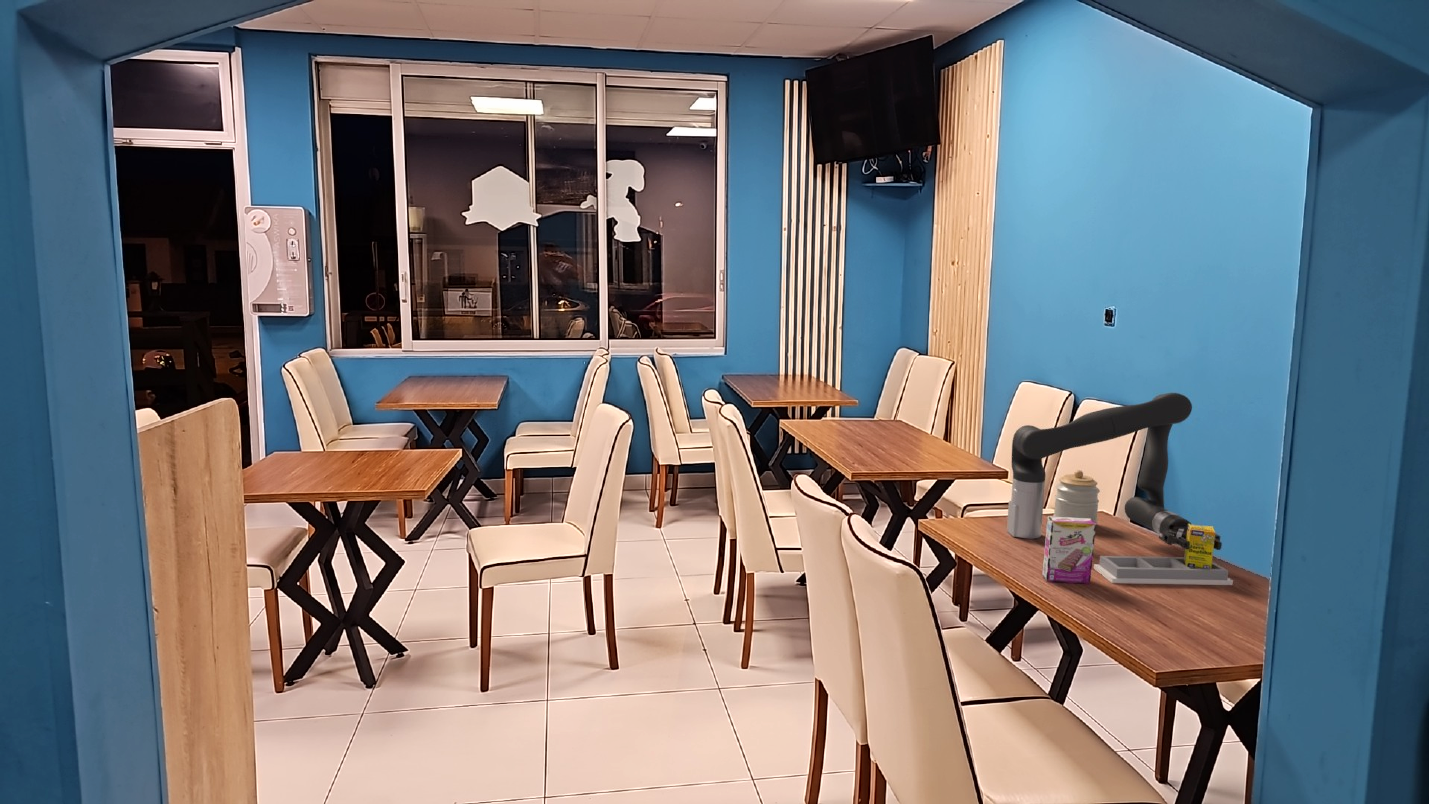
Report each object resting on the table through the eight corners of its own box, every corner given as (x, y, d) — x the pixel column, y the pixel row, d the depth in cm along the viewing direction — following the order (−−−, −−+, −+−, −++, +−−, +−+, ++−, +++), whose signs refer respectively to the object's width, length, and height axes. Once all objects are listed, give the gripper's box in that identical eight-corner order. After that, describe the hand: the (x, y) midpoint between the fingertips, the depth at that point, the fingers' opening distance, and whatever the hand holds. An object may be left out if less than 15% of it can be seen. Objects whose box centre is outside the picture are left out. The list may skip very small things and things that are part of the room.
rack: (1112, 583, 231) (1113, 569, 230) (1093, 568, 242) (1094, 555, 241) (1232, 585, 231) (1234, 571, 230) (1208, 570, 242) (1210, 557, 241)
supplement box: (1185, 569, 234) (1190, 529, 232) (1183, 562, 240) (1187, 523, 238) (1211, 572, 232) (1215, 532, 230) (1208, 565, 238) (1212, 525, 236)
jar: (1092, 533, 275) (1097, 477, 272) (1048, 525, 282) (1053, 471, 279) (1099, 523, 286) (1104, 469, 283) (1057, 516, 292) (1061, 463, 290)
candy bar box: (1046, 582, 230) (1051, 520, 228) (1041, 576, 235) (1046, 515, 233) (1091, 584, 229) (1096, 522, 227) (1085, 578, 234) (1090, 517, 232)
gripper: (1148, 514, 248) (1178, 531, 232) (1199, 514, 248) (1233, 532, 232) (1145, 539, 250) (1175, 559, 233) (1196, 540, 250) (1229, 560, 233)
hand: (1204, 546), depth 233 cm, fingers closed on supplement box, 7 cm apart
